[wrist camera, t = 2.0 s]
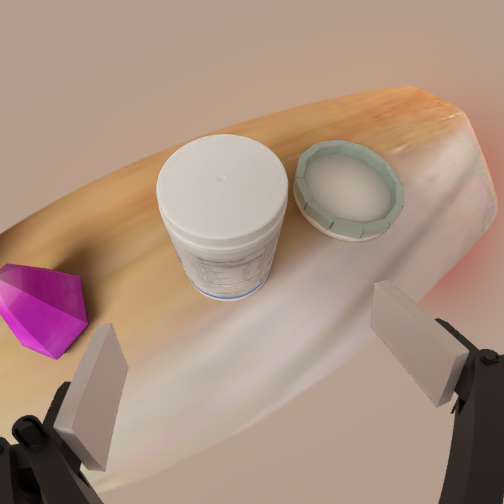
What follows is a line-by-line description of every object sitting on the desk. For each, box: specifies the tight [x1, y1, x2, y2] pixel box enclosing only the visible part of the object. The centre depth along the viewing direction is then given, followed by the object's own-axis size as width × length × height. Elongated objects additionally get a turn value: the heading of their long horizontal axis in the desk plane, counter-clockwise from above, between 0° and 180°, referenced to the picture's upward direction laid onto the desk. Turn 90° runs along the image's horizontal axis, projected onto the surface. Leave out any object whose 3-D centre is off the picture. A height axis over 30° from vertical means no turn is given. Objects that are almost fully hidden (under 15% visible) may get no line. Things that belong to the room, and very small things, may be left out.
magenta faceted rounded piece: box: [0, 264, 88, 360], centre depth 24 cm, size 11×11×15 cm
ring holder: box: [293, 140, 403, 242], centre depth 37 cm, size 14×14×3 cm
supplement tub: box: [156, 134, 288, 301], centre depth 27 cm, size 10×10×15 cm
